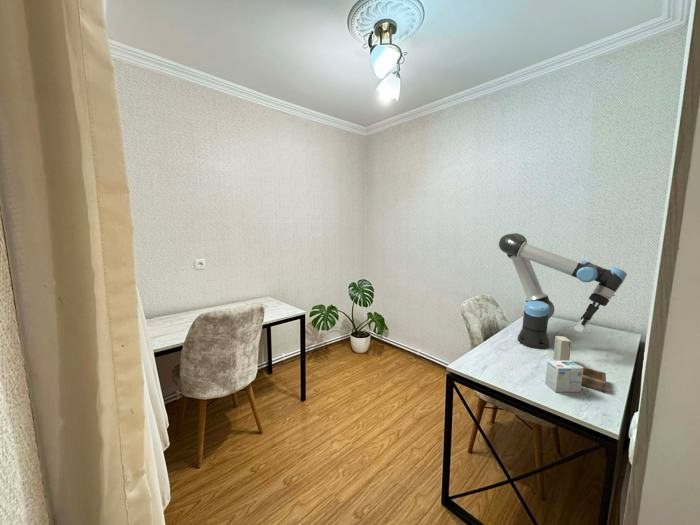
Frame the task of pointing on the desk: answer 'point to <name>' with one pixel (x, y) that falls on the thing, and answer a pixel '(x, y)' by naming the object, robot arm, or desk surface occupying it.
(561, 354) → the skincare box
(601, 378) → the walnut holder
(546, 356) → the desk surface
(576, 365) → the light bulb box
